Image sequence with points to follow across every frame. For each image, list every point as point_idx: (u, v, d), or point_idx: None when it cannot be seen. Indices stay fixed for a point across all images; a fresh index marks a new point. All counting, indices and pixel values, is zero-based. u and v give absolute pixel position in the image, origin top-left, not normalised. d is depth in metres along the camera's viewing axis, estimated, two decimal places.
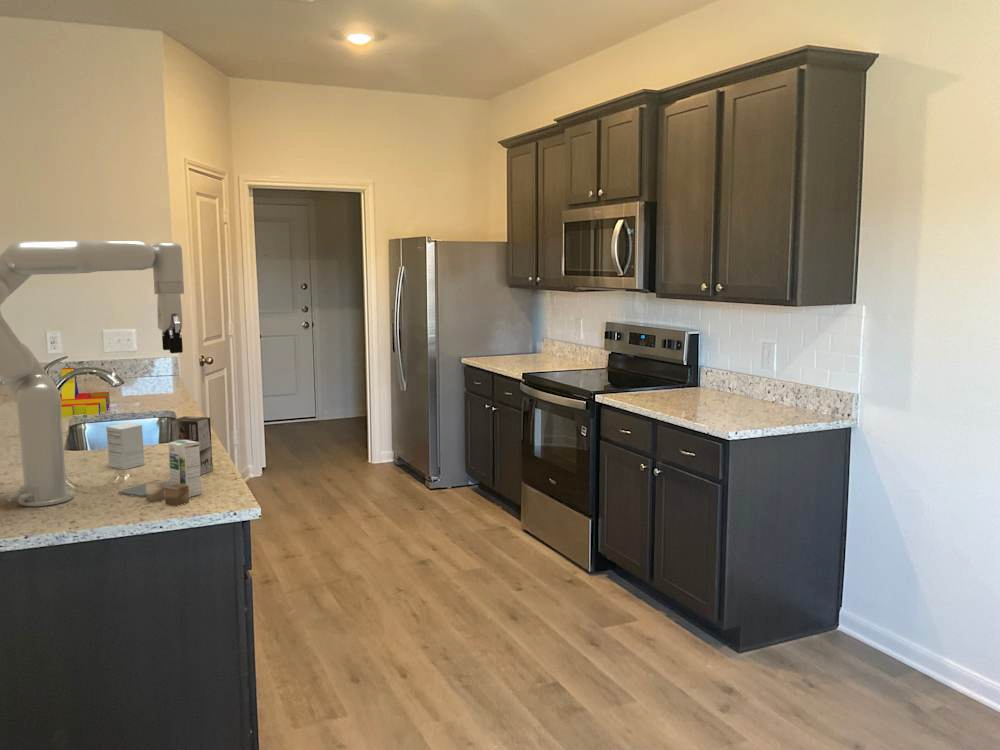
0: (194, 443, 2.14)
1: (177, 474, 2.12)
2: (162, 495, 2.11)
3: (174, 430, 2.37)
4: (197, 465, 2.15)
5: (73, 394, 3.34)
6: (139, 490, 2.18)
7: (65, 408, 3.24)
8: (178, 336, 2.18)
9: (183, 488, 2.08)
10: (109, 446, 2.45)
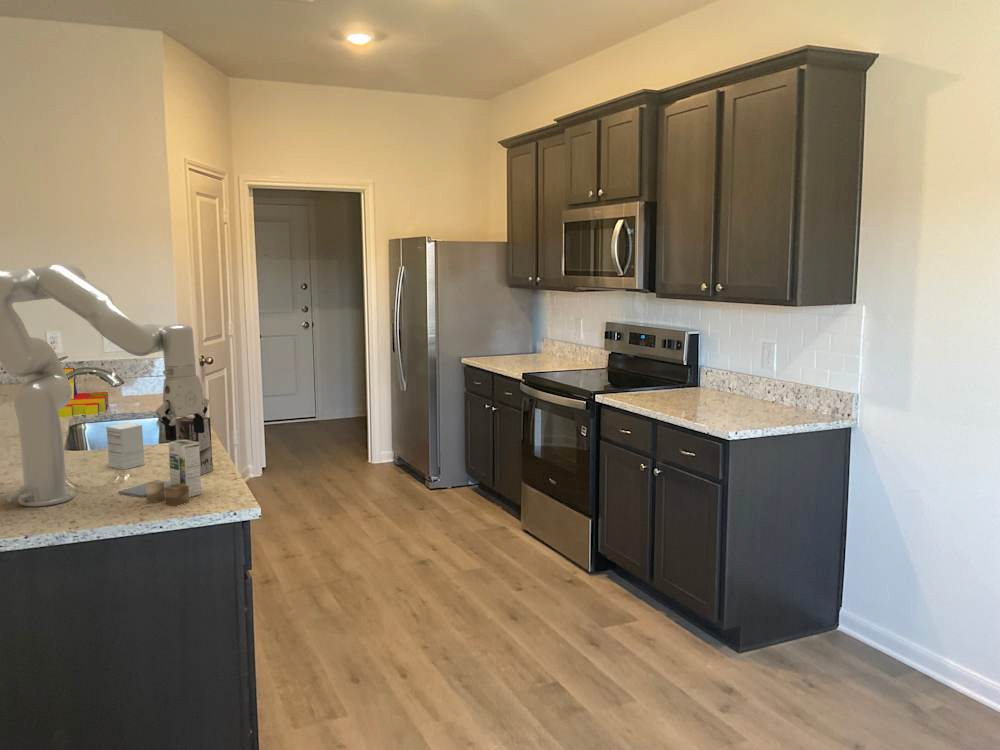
0: (194, 443, 2.14)
1: (177, 474, 2.12)
2: (162, 495, 2.11)
3: None
4: (197, 465, 2.15)
5: (72, 394, 3.34)
6: (139, 490, 2.18)
7: (64, 408, 3.24)
8: None
9: (183, 488, 2.08)
10: (109, 446, 2.45)
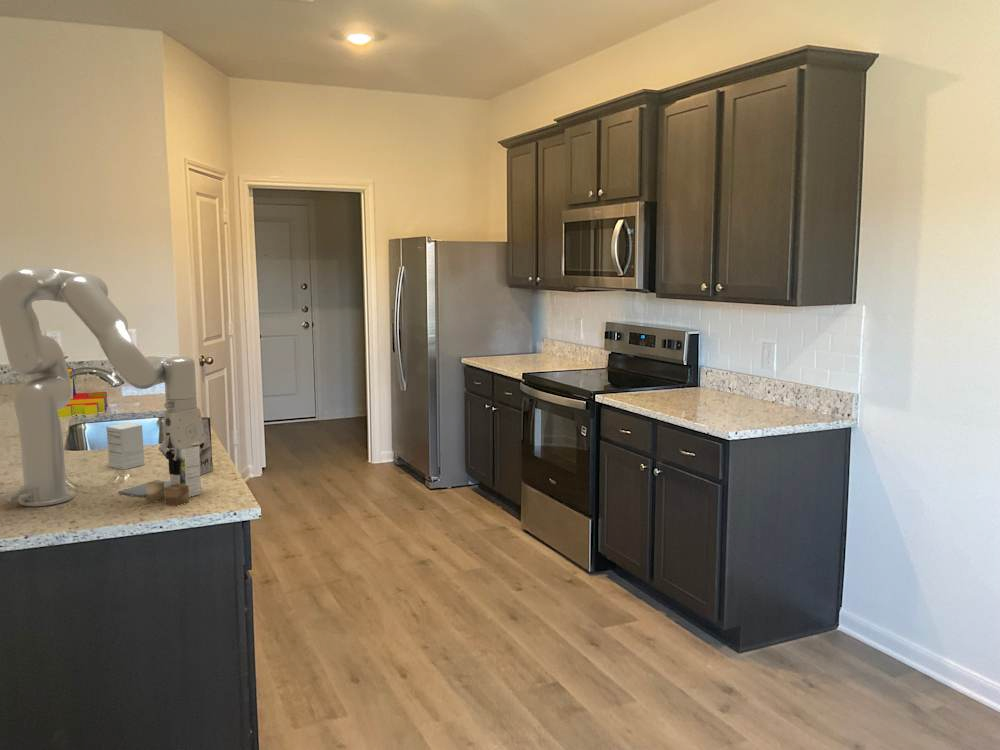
0: (194, 443, 2.14)
1: None
2: (162, 495, 2.11)
3: None
4: (197, 465, 2.15)
5: None
6: (139, 490, 2.18)
7: (64, 408, 3.24)
8: None
9: (183, 488, 2.08)
10: (109, 446, 2.45)
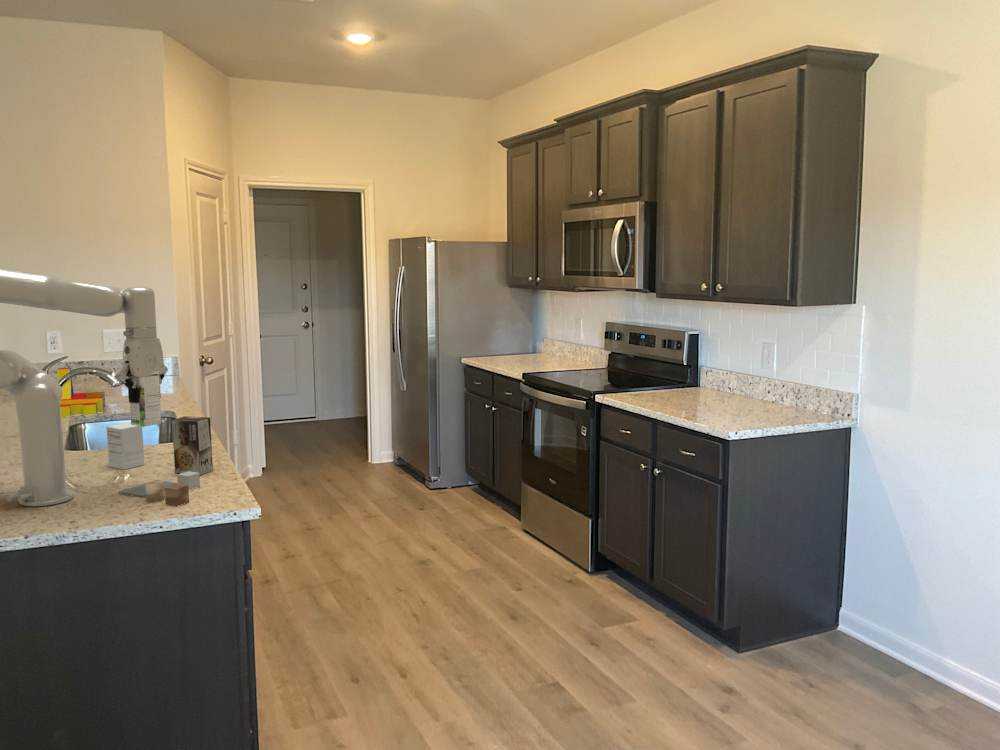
0: (153, 372, 2.17)
1: None
2: (162, 495, 2.11)
3: (174, 430, 2.37)
4: (156, 394, 2.18)
5: (69, 394, 3.34)
6: (139, 490, 2.18)
7: (62, 408, 3.24)
8: None
9: (183, 488, 2.08)
10: (109, 446, 2.45)
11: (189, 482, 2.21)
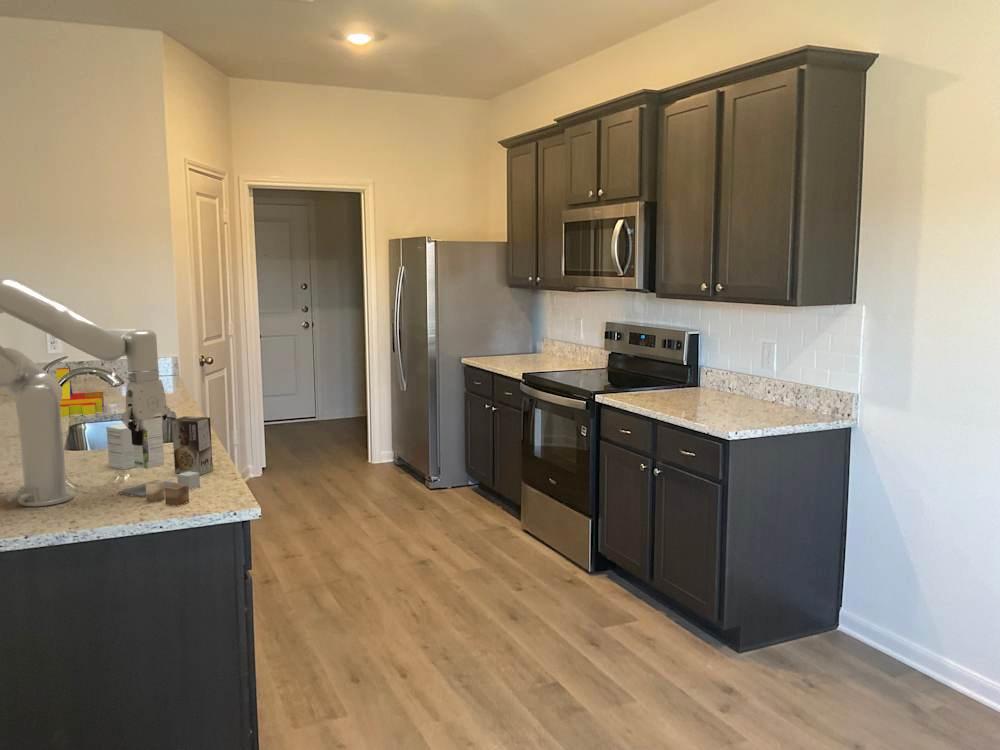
0: (156, 414, 2.18)
1: None
2: (162, 495, 2.11)
3: (174, 430, 2.37)
4: (159, 436, 2.19)
5: (68, 394, 3.34)
6: (139, 490, 2.18)
7: (61, 408, 3.24)
8: None
9: (183, 488, 2.08)
10: (109, 446, 2.45)
11: (189, 482, 2.21)
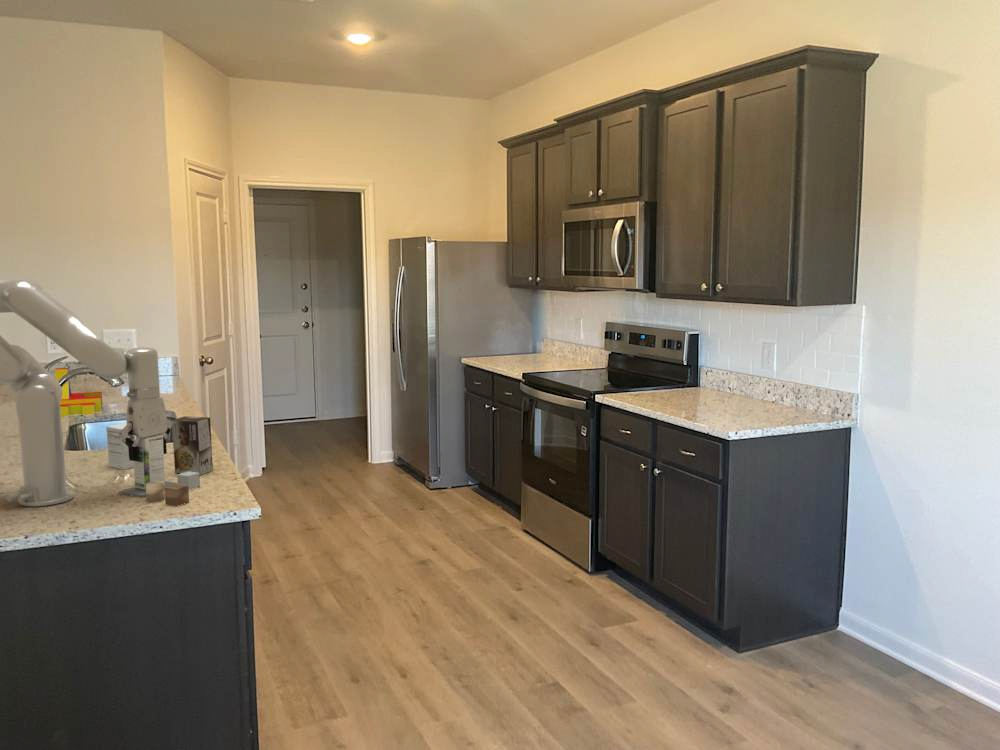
0: (158, 436, 2.19)
1: (141, 466, 2.18)
2: (162, 495, 2.11)
3: (174, 430, 2.37)
4: (160, 457, 2.20)
5: (67, 394, 3.34)
6: (139, 490, 2.18)
7: (61, 408, 3.24)
8: None
9: (183, 488, 2.08)
10: (109, 446, 2.45)
11: (189, 482, 2.21)
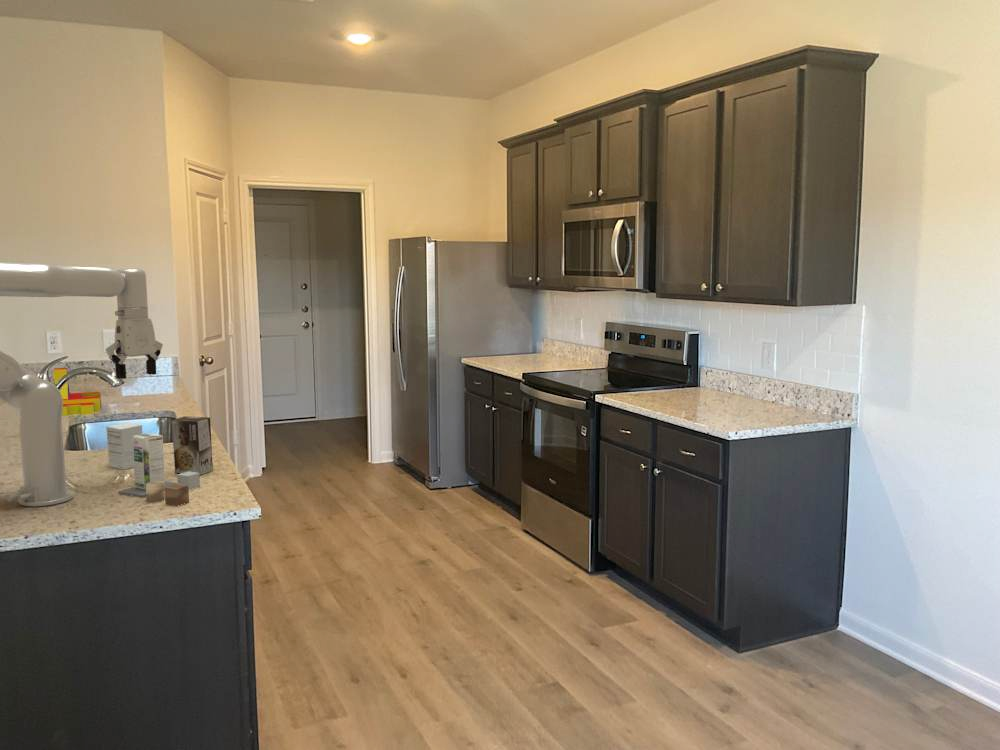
0: (158, 436, 2.19)
1: (141, 466, 2.18)
2: (162, 495, 2.11)
3: (174, 430, 2.37)
4: (160, 457, 2.20)
5: (66, 394, 3.34)
6: (139, 490, 2.18)
7: None
8: None
9: (183, 488, 2.08)
10: (109, 446, 2.45)
11: (189, 482, 2.21)
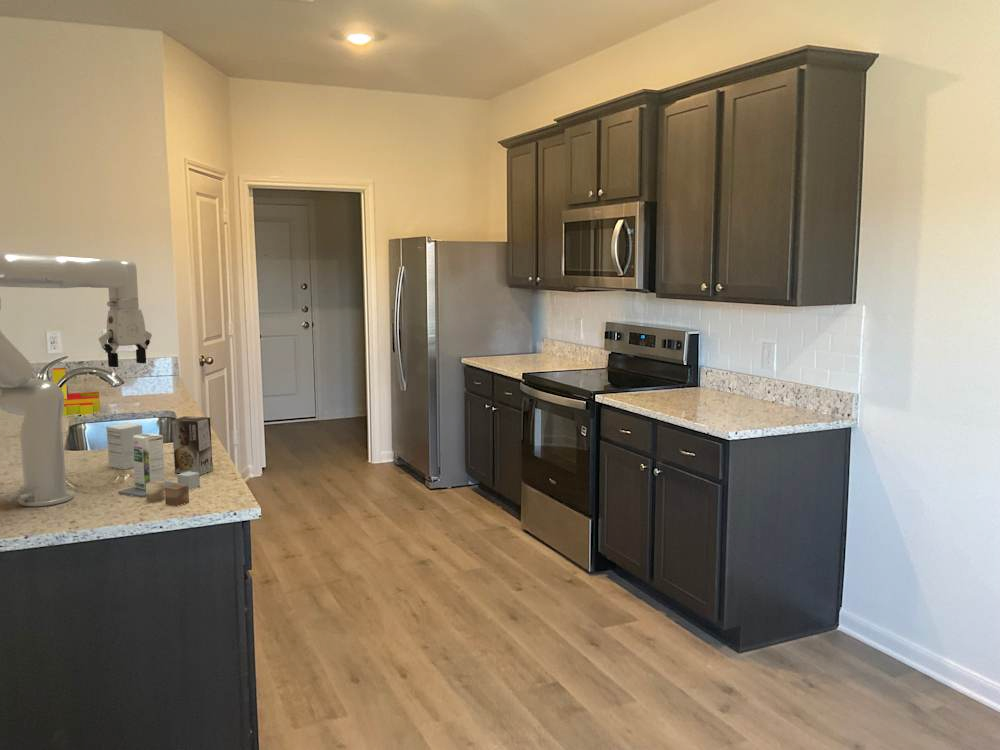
0: (158, 436, 2.19)
1: (141, 466, 2.18)
2: (162, 495, 2.11)
3: (174, 430, 2.37)
4: (160, 457, 2.20)
5: (65, 394, 3.34)
6: (139, 490, 2.18)
7: None
8: None
9: (183, 488, 2.08)
10: (109, 446, 2.45)
11: (189, 482, 2.21)
